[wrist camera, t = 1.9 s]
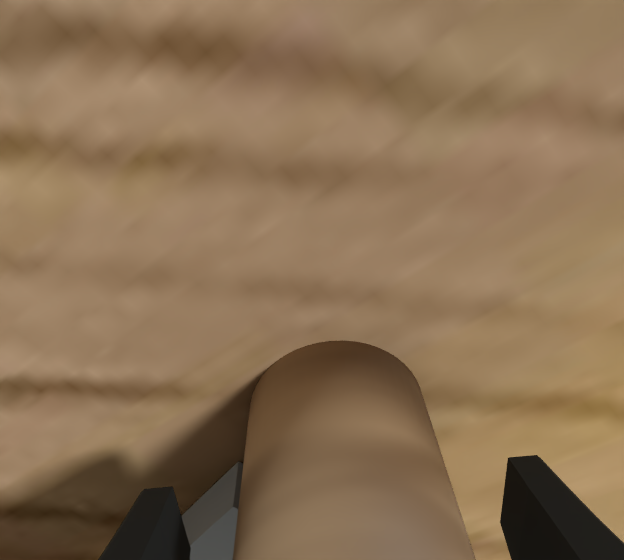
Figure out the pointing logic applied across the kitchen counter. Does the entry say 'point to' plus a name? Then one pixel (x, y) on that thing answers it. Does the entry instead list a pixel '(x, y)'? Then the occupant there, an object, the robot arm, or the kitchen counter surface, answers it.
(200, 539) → the base
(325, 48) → the kitchen counter surface
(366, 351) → the walnut cylinder
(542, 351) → the kitchen counter surface
